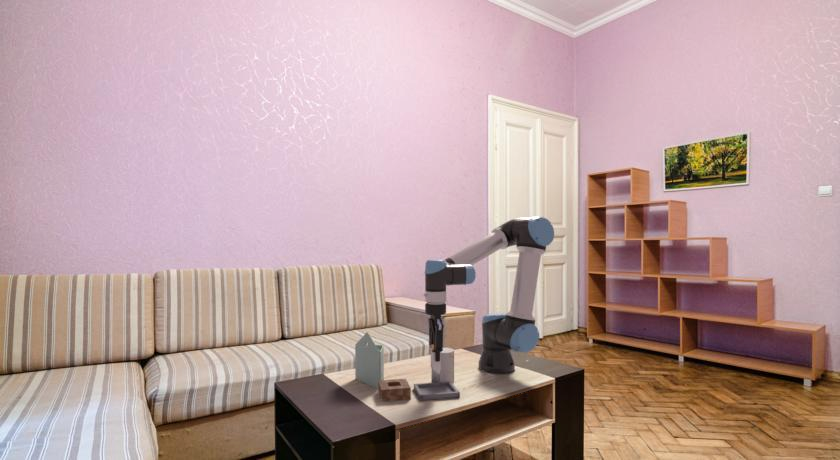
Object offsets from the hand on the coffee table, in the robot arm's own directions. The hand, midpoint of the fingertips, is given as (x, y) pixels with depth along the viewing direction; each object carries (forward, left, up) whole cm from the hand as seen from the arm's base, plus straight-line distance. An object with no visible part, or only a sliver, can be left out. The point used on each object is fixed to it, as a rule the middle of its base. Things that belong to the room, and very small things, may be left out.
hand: (435, 368), depth 158 cm
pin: (0, 0, -6) cm, 6 cm away
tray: (0, 0, -9) cm, 9 cm away
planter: (+20, -17, -9) cm, 28 cm away
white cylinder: (-6, -12, -9) cm, 16 cm away
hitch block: (+15, -1, -9) cm, 17 cm away
